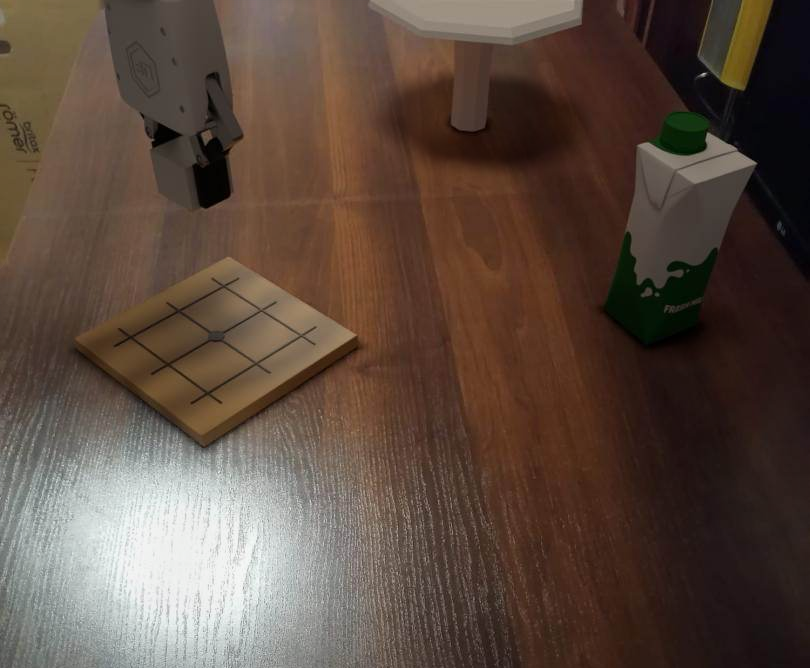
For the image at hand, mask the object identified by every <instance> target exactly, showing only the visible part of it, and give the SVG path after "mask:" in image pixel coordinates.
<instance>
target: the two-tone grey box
mask: <svg viewBox="0 0 810 668" xmlns="http://www.w3.org/2000/svg"><path fill="white" fill-rule="evenodd" d="M202 138H203V142H204V145H205V146H206V144H207V143H208V142H209V140H210V139H209V138H207V137H205V136H204V135H202ZM149 155H150V159H151V164H152V169H153V172H154V173H153V174H154V178H155V181H156V182H155V183H156V185H157V191H158V193H159V194H160V195H162V196H163V197H165V198H167V199H169V200H171V201H172V202H173V203H175V204H176V205H179V206H181V207H182V208H183V209H186V210H187V211H189V212H191V213H195V212H197V211H198V210H201V209H204V208H203V207H201V206H200V205H199V200H198V194H197V189H196V183H195V178H194V172H193V167H192V164H194V163H197V161H196V158H195V155H194V152H193V149H192V146H191V143H190V140H189V137H188V136H185V135H182V136H180V137H178V138H175V139H173V140H171V141H169V142H166V143H164V144H162V145H159V146H157V147H155V148H152V147H151V148H150V149H149ZM226 163H227V169H228V176H229V183H230V190H231V194H233V193H234V185H233V178H232V170H231V163H230V155H229V156H227V157H226Z"/></svg>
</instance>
